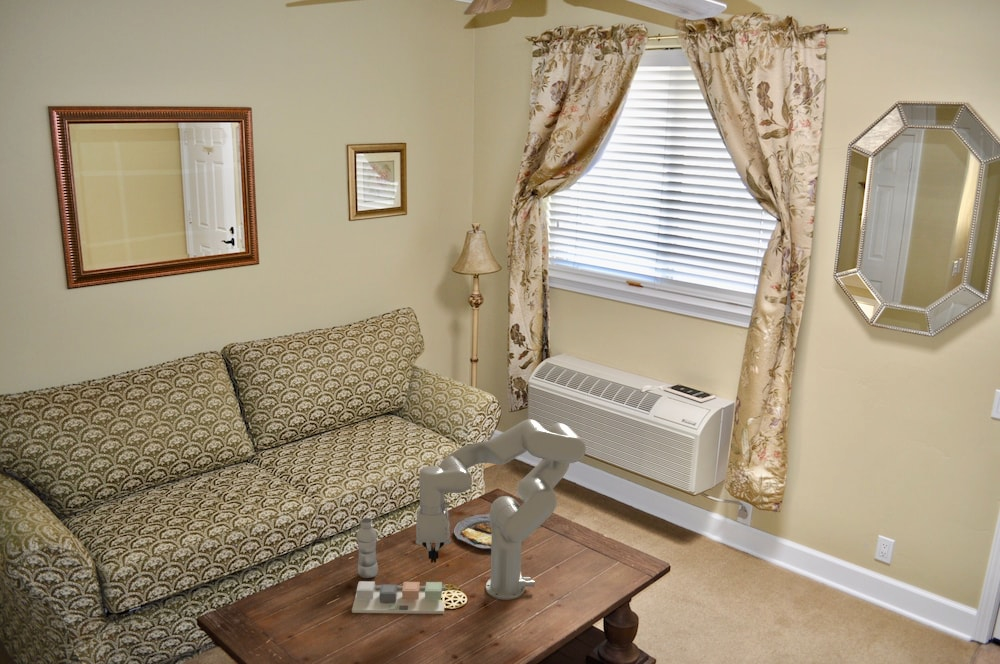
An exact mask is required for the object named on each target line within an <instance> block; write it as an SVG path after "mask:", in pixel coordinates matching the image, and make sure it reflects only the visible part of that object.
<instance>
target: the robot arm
mask: <svg viewBox="0 0 1000 664" xmlns="http://www.w3.org/2000/svg"><path fill="white" fill-rule="evenodd" d="M586 449H587V448H586V444H585V442H584V440H583V439H582V438H581V437H580V436H579V435H578V434H577V433H576V432H575V431H574V430H573V429H572V428H571V427H570V426H568V425H567V424H565V423H563V422H557V423H554V424H552V425H551V426H550V428H549V429H548V430H547V429H546V428H545V427H544V426H543V425H542V424H541V423H540V422H538V421H537V420H536V419H531V418H527V419H524V420H522V421H521V422H519V423H518V424H516V425H514V426H512V427H510V428H509V429H507V430H505V431H503V432H502V433H500V434H499V435H496V436H495V437H493V438H492V439H490V440H485V441H479V442H474V443H470V444H467V445H464V446H462V447H460V448H459V449H457V450H454V451H453V452H452V453H450V454H448V455H447V456H445V458H443V459H442V461H441V462H440V464H439V466H436V465H429V466H425V467H424V466H423V468H421V469H420V471H419V474H418V483H419V484H418V485H419V508H418V509H417V513H416V525H415V527H416V528H415V535H416V536H415V537H416V538H415V544H416V545H420V546H423V547H424V548H426V550H427V552H428V560H430V563H432V564H433V563H434V564H436V563H437V560H439V553H440V552H439V551H440V549H441V548H442V547H444V546H446V545H450V544H452V540H451V537H450V536H451V525H450V524H451V523H450V514H449V509H448V508H450V507H451V504H450V502H447V501H446V498H445V497H446V495H445V493H450V494H462V493H464V492H467V491H468V490H469V489H470V488H471V486H472V483H473V479H472V475H471V474H470V472H469V471H468V469H469V468H471V467H473V466H476V465H479V464H485V463H486V464H493V465H499V466H500V465H501V466H503V465H506V464H507V463H510V462H511V461H513V460H514V459H516V458H518V457H519V456H521V455H523V454H525V453H526V452H527V453H529V454H530V455H531V456H533V457H535V458H539V459H541V461H539V462H538V464H536V465H535V467H534V468H532V470H530V471H529V473H527V474H526V475H525V477H523V478H522V479H521V480H520V481H519V482H518V484H517V487H516V492H517V495H518V497H519V499H520V500H521V501H522V503H523V504H520V503H519V502H518V501H517V500H516V499H515V498H514V497H511V496H509V495H504V496H503V495H502V496H499V497H497V498H496V499H495V500H494V501H493V502H492V504H491V506H490V510H489V514H490V522H491V524H490V525H491V526H490V527H491V534H492V543H491V549H490V578H489V579H488V580H487V581H486V584H485V591H486V593H487V594H488V595H489V596H490V597H492V598H495V599H498V600H502V601H503V600H504V601H506V600H507V601H509V600H515V599H518V598H520V597H521V596H523V594H525V593H524V592H525V590H526V587H531V588H533V587H535V586H536V585H535V584H536V582H535V580H532V579H531V577H530V576H522V571H521V570H522V569H521V567H522V545H523V544H522V543H523V541H525V540H526V539H527V540H528V538H530V536H531V535H533V533H535V531H536V530H538V529H539V528H540V527H541V526H542V525H543V524H544V523H545V522H546V521H547V520H548V519H549V518H550V517H551V516H552V515H553V513H554V511H555V510H556V507H557V504H558V497H557V494H556V492H555V491H554V488H555V486H556V485H558V484H559V482H561V480H562V479H563V478H564V477H565V475H566V474H567V472H568V470H569V467H570V464H575V463H578V462H579V461H580V460H582V458H584V456H585V455H586V451H587V450H586ZM432 543H435V545H434V546H433V544H432Z"/></svg>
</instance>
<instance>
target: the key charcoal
mask: <svg viewBox="0 0 1000 664" xmlns="http://www.w3.org/2000/svg"><path fill="white" fill-rule="evenodd" d="M380 585H381V589H380V593H379V596H380V602H396V599H397V593H398V588H397V585H398V584H393V583H392V584H387V583H384V584H383V583H382V584H381V583H380Z"/></svg>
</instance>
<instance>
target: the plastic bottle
mask: <svg viewBox="0 0 1000 664" xmlns="http://www.w3.org/2000/svg"><path fill="white" fill-rule="evenodd" d="M373 525H374V524H373V519H372V518H369V517H366V518H365V517H364V518H362V519H360V525H359V526H360V528H359V529H358V530H357V532H356V536H355V537H356V542H357V546H358V547H357V549H358V563H357V574H358V575H359V576H360V577H361V578H363V579H372V578H374V577H376V576H377V574H378V573H379V572H378V571H379V564H378V562H377V561H378V560H377V554H376V552H377V551H376V549H377V548H376V546H377V538H378V537H377V536H378V535H377V531H376V530H375V529H374V528H373Z"/></svg>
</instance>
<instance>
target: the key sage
mask: <svg viewBox="0 0 1000 664" xmlns="http://www.w3.org/2000/svg"><path fill="white" fill-rule="evenodd" d="M425 586H426V587H425V600H441V598H442V586H443V582H442V581H426V582H425Z"/></svg>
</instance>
